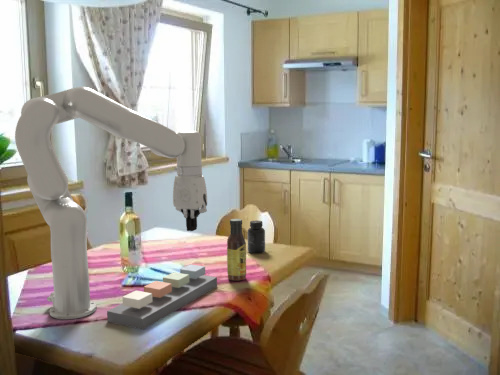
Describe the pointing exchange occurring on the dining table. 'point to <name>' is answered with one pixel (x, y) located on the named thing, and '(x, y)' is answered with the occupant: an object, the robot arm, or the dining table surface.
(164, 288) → the terracotta key
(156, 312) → the keypad base
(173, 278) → the sage key
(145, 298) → the cream key
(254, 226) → the supplement bottle
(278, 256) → the dining table surface
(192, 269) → the slate key
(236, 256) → the sauce bottle
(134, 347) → the dining table surface
